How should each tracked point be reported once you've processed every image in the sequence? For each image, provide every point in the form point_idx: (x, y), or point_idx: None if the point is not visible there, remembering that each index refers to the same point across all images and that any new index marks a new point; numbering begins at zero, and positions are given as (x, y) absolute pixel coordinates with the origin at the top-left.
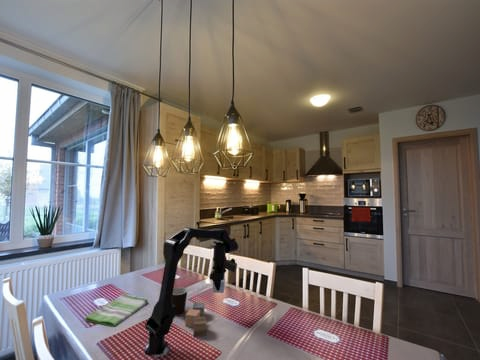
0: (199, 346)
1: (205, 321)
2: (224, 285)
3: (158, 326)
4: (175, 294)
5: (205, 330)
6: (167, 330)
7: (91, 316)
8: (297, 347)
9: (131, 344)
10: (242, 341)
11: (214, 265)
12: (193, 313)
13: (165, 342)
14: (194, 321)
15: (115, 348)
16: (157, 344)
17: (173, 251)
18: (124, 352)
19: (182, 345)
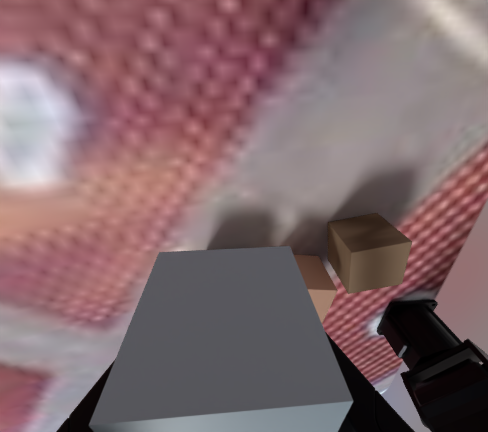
0: (434, 220)
1: (395, 247)
2: (176, 288)
3: (429, 371)
4: None
5: (389, 225)
6: (479, 350)
7: None
8: None
9: (371, 357)
10: (478, 17)
11: None
12: (314, 304)
13: (393, 309)
14: (381, 286)
15: (378, 371)
16: (450, 330)
17: None
18: (396, 356)
19: (410, 267)
